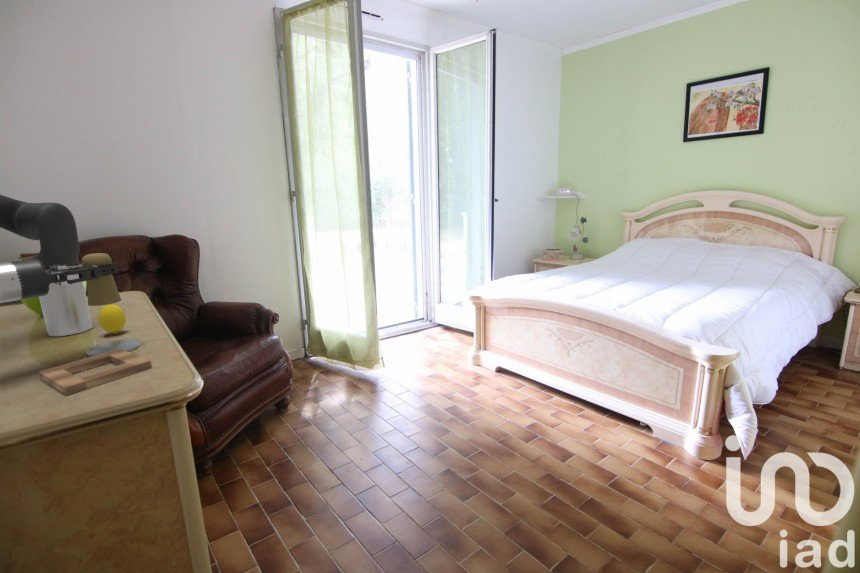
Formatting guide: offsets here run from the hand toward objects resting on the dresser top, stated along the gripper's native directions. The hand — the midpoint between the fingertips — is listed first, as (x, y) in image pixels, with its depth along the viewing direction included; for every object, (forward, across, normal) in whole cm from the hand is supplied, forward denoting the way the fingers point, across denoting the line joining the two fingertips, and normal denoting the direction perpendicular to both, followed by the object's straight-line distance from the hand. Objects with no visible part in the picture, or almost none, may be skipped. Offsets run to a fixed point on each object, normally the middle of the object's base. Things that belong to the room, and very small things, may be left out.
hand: (112, 267), depth 98 cm
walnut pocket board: (-10, -13, +19) cm, 25 cm away
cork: (-3, 0, +8) cm, 8 cm away
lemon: (+3, +13, +19) cm, 23 cm away
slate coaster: (-2, 0, +19) cm, 19 cm away
